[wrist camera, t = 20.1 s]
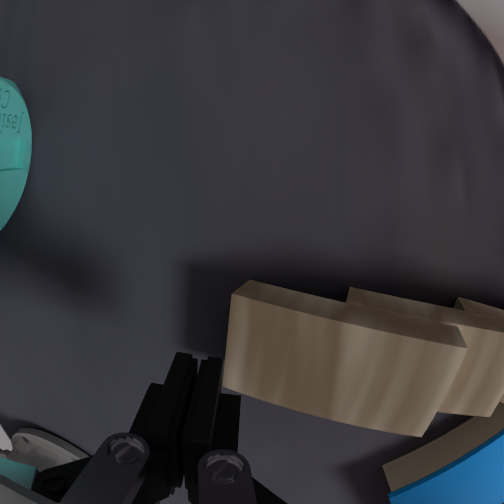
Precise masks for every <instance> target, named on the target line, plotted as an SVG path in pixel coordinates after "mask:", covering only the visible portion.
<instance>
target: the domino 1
mask: <svg viewBox="0 0 504 504" xmlns="http://www.w3.org/2000/svg"><path fill="white" fill-rule="evenodd" d="M467 350H468V348H467V345H466V343H465V341H464V339H463V337H462V334H461V332H460V330H459V328H458V327H454V326H450V325H445V324H440V323H435V322H430V321H426V320H421V319H416V318H412V317H407V316H402V315H398V314H393V313H389V312H384V311H380V310H375V309H371V308H366V307H362V306H357V305H353V304H349V303H344V302H340V301H336V300H332V299H327V298H323V297H319V296H315V295H310V294H306V293H302V292H298V291H294V290H290V289H286V288H282V287H277V286H273V285H269V284H265V283H261V282H257V281H253V280H249V281H247V282H246V283H245V284H244V285H242V286H241V287H240V288H238V289H237V290H236V291H234V292H233V293H232V295H231V305H230V315H229V325H228V335H227V345H226V355H225V366H224V377H223V387H225V388H228V389H231V390H234V391H237V392H239V393H242V394H245V395H248V396H251V397H254V398H257V399H260V400H263V401H266V402H269V403H273V404H276V405H279V406H282V407H286V408H289V409H292V410H296V411H299V412H303V413H307V414H310V415H314V416H318V417H322V418H326V419H330V420H334V421H338V422H342V423H346V424H351V425H355V426H360V427H365V428H370V429H375V430H380V431H385V432H391V433H397V434H403V435H409V436H416V437H422V436H423V434H424V433H425V431H426V429H427V428H428V426H429V424H430V423H431V421H432V419H433V418H434V416H435V414H436V412H437V411H438V409H439V407H440V405H441V403H442V401H443V400H444V398H445V396H446V394H447V392H448V390H449V388H450V386H451V384H452V382H453V380H454V378H455V376H456V374H457V372H458V370H459V368H460V365H461V363H462V361H463V359H464V357H465V354H466V352H467Z"/></svg>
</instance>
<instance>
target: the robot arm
mask: <svg viewBox="0 0 504 504" xmlns="http://www.w3.org/2000/svg"><path fill="white" fill-rule="evenodd" d="M197 368H198V360H197V359H195V358H192V354H188V353H181V352H177V353H176V355H175V357H174V360H173V362H172V365H171V367H170V370H169V372H168V375H167V377H166V380H165V383H164V385H161V384H156V383H151V384H150V386H149V388H148V390H147V392H146V394H145V397H144V399H143V401H142V403H141V406H140V408H139V410H138V413H137V415H136V417H135V419H134V422H133V424H132V426H131V429H130V431H129V433H117V434H113V435H111V436H109V437H108V438H107V439H106V440H105V441H104V442H103V443H102V445H101V446H100V447H99V449H98V450H97V452H96V453H95V454H94V455H92V456H89V455H87V454H86V453H84V452H83V451H81V450H79V449H78V448H76V447H75V446H73V445H71V444H69V443H68V442H66V441H64V440H62V439H60V438H58V437H56V436H54V435H52V434H49V433H47V432H44V431H41V430H38V429H33V428H21V429H18V430H17V431H16V433H15V434H14V435H13V437H12V439H11V443H12V447H13V449H12V451H9V450H4V451H3V450H1V449H0V504H160V501H161V500H163V499H165V498H167V497H169V494H172V495H174V491H175V487H178V488H181V486H182V482H183V477H184V478H185V488H186V489H188V500H189V501H190V502H191V503H192V504H287V503H286V502H284V501H283V500H282V499H280V498H279V497H278V496H276V495H275V494H274V493H272V492H271V491H270V490H268V489H267V488H266V487H264V486H263V485H262V484H260V483H259V482H258V481H257V480H255V479H254V478H253V477H252V474H251V469H250V465H249V463H248V461H247V460H246V459H245V457H244V456H242V455H241V454H239V453H237V450H238V434H239V418H240V403H241V395H232V394H223V393H221V384H222V370H223V358H218V357H210V356H208V359H207V360H203V359H202V360H201V364H200V368H199V372H198V375H197Z"/></svg>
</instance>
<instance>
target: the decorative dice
mask: <svg viewBox="0 0 504 504" xmlns="http://www.w3.org/2000/svg"><path fill="white" fill-rule="evenodd" d="M31 151H32V133H31V124H30V119H29V114H28V110H27V107H26V104H25V101H24V99H23V97H22V94H21V93H20V91H19V89H18V87H17V86H16V84H15V83H14V82H13V81H11V80H9V79H6V78H3V77H0V231H1V230H2V229H3V227H4V226H5V225H6V223H7V222H8V220H9V219H10V217H11V215H12V214H13V212H14V210H15V208H16V206H17V204H18V202H19V200H20V198H21V195H22V193H23V190H24V187H25V184H26V180H27V176H28V172H29V167H30V161H31Z"/></svg>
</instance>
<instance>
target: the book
mask: <svg viewBox="0 0 504 504" xmlns="http://www.w3.org/2000/svg"><path fill="white" fill-rule="evenodd" d="M382 467H383V470H384V473H385V475H386V478H387V481H388V484H389V487H390V490H391V493H389V494H388V497H389V499H390V502H391V504H502V503H503V502H504V403H501V402H499V403H498V405H497V406H496V408H495V410H494V411H493V413H492V415H491V416H490V417H482V416H474V417H473V418H471V419H470V420H468V421H466V422H465V423H463V424H462V425H460V426H458V427H457V428H455V429H453V430H451V431H450V432H448V433H446V434H445V435H443V436H441V437H439V438H437V439H435V440H434V441H432V442H430V443H428V444H426V445H424V446H422V447H420V448H418V449H416V450H414V451H412V452H410V453H408V454H406V455H404V456H402V457H400V458H397V459H395V460H393V461H391V462H388V463H386V464H384V465H382Z"/></svg>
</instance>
